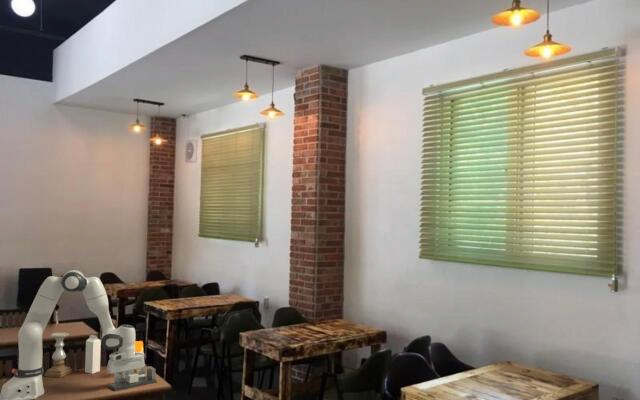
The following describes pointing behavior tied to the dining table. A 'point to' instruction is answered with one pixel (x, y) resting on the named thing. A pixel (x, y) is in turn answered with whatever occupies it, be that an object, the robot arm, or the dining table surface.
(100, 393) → the dining table surface
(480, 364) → the dining table surface
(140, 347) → the orange juice
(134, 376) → the white block
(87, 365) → the milk
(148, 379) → the bench
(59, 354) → the candle holder
